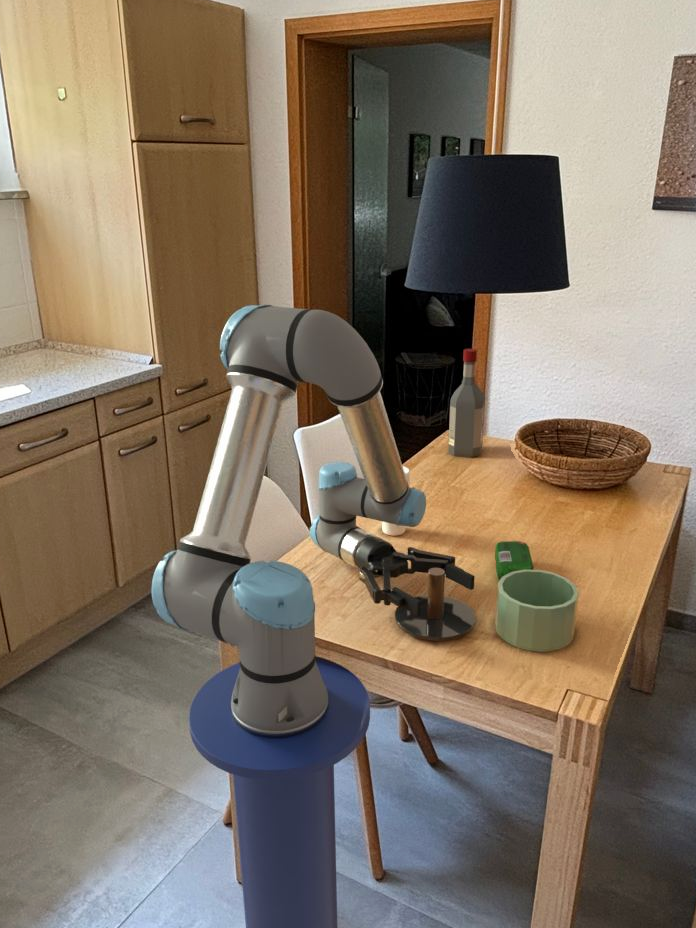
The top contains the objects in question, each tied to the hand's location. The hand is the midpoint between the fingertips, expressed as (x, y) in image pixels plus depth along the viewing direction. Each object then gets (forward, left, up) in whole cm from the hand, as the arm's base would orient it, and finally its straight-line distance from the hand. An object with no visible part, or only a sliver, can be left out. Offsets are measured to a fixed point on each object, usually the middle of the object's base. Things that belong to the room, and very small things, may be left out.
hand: (447, 595), depth 137 cm
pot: (+14, +6, -6) cm, 17 cm away
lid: (-3, +1, -6) cm, 6 cm away
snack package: (+5, +24, -7) cm, 26 cm away
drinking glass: (-25, +32, -7) cm, 41 cm away
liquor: (-28, +90, -7) cm, 94 cm away
